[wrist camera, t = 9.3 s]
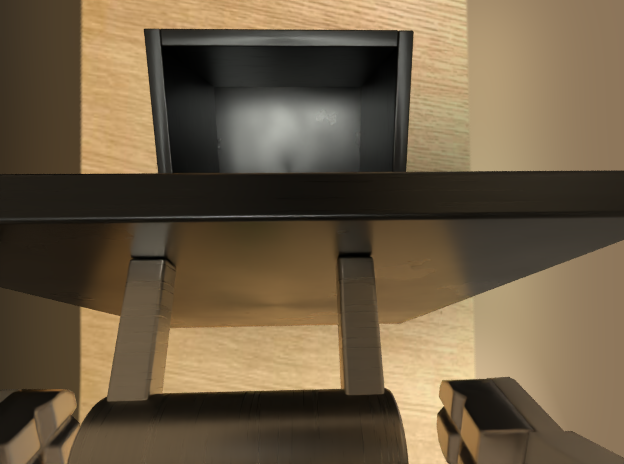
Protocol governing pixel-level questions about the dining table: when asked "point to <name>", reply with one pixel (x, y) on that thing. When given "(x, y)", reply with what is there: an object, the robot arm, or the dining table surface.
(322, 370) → the dining table surface
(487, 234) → the bin lid
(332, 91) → the trash can
